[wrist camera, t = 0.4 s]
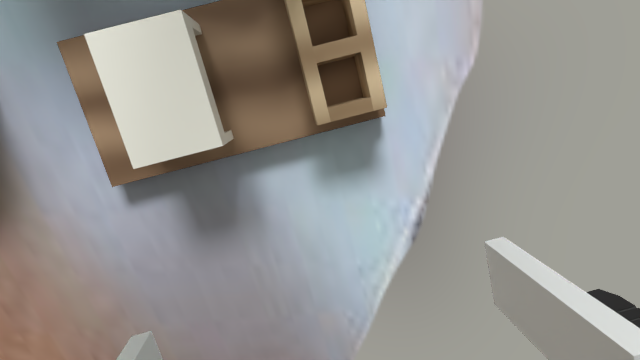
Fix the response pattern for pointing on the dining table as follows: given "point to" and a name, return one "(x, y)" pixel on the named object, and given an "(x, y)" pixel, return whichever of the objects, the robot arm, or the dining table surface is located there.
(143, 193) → the dining table surface
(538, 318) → the robot arm
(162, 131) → the cover
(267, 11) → the board
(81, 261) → the dining table surface
